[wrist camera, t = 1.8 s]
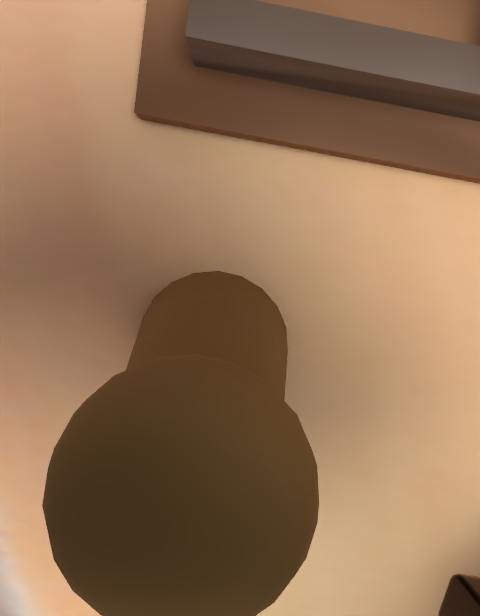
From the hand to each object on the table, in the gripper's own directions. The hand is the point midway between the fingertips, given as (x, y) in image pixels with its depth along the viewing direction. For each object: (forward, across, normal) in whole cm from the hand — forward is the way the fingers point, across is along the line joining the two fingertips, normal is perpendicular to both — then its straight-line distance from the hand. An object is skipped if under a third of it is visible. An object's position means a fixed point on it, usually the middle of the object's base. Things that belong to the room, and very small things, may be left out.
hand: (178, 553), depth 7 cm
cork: (+11, 0, 0) cm, 11 cm away
